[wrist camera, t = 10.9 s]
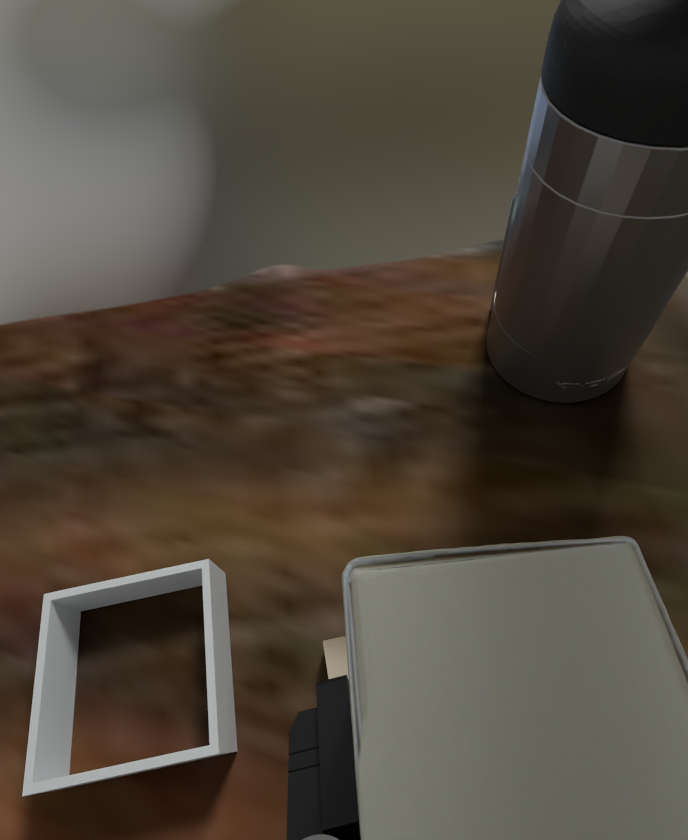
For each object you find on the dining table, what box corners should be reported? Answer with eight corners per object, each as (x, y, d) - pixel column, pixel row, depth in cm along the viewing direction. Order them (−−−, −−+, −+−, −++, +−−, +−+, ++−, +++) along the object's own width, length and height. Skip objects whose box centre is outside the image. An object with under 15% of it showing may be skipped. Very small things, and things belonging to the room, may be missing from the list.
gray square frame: (74, 605, 30) (44, 593, 28) (225, 573, 30) (208, 559, 28) (60, 789, 26) (22, 796, 23) (237, 751, 26) (218, 753, 23)
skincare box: (560, 903, 14) (971, 1335, 4) (401, 915, 15) (392, 1358, 4) (505, 648, 18) (648, 520, 7) (375, 661, 18) (336, 554, 8)
